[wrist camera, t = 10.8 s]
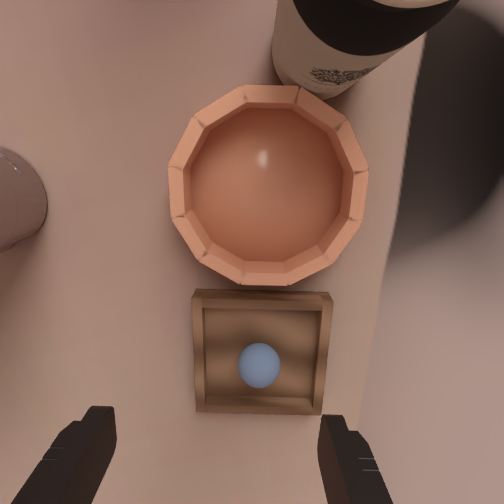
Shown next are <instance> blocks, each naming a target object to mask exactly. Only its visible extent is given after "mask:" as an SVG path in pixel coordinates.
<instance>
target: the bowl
mask: <svg viewBox="0 0 504 504" xmlns="http://www.w3.org/2000/svg"><path fill="white" fill-rule="evenodd" d="M194 115H195V117H196V118H194V117H193V116H192V118H191V120H190V122H189V124H188V126H187V128H186V130H185V132H184V134H183V136H182V138H181V140H180V142H179V144H178V146H177V148H176V150H175V152H174V154H173V156H172V158H171V160H170V162H169V165H171V166H168V177H169V195H170V212H171V217H174V218H173V219H172V221H173V223H174V224H175V226H176V227H177V229H178V230H179V232H180V234H181V235H182V237H183V238H184V240H185V242H186V243H187V245H188V246H189V248H190V249H191V251H192V253H193V254H194V256H195V257H196V259H197V260H198V259H200V260H199V262H201V263H202V264H204V265H206V266H208V267H209V268H211V269H213V270H215V271H217V272H218V273H220V274H222V275H224V276H225V277H227V278H229V279H231V280H233V281H234V282H236V283H238V284H240V282H241V285H271V286H287V282H288V284H289V285H291V284H293V283H295V282H297V281H299V280H301V279H303V278H305V277H307V276H310V275H312V274H314V273H316V272H318V271H320V270H322V269H324V268H326V267H328V266H330V265H331V263H330V262H332V263H334V261H335V260H336V259H337V257H338V256H339V255H340V253H341V252H342V250H343V249H344V248H345V246H346V245H347V244H348V242H349V241H350V239H351V238H352V237H353V235H354V234H355V233H356V231H357V230H358V228H359V227H360V226H361V224H362V223H360V222H363V216H364V208H365V200H366V192H367V184H368V177H369V171H367V169H369V167H368V165H367V163H366V160H365V158H364V156H363V153H362V151H361V149H360V146H359V144H358V142H357V139H356V137H355V135H354V132H353V130H352V128H351V125H350V123H349V121H348V120H345V119H346V117H345V116H343V115H342V114H341V113H339V112H338V111H336V110H335V109H333V108H332V107H330V106H329V105H327V104H326V103H325V102H323V101H322V100H320V99H319V98H317V97H316V96H314V95H313V94H311V93H310V92H309V91H307V90H306V89H304V88H303V87H301V88H300V89H299V86H283V85H243V88H242V86H239V87H238V88H236V89H234V90H233V91H231V92H230V93H228V94H226V95H225V96H223V97H222V98H220V99H218V100H217V101H215V102H213V103H212V104H210V105H209V106H207V107H205V108H204V109H202V110H201V111H199V112H197V113H196V114H194Z"/></svg>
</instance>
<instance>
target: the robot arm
mask: <svg viewBox="0 0 504 504" xmlns="http://www.w3.org/2000/svg"><path fill="white" fill-rule="evenodd" d="M46 211H47V199H46V194H45V190H44V187H43V185H42V182H41V180H40V178H39V177H38V175H37V173H36V172H35V171H34V169H33V168H32V167H31V166H30V165H29V164H28V163H27V162H26V161H25V160H24V159H22V158H21V157H20V156H19V155H17V154H15V153H13V152H11V151H10V150H7V149H4V148H1V147H0V253H1V252H3V251H6V250H8V249H11V247H12V245H13V244H14V243H15V242H17V241H19V240H22V239H25V238H27V237H29V236H31V235H32V234H34V233H35V232H36V231H37V230H38V229H39V228H40V226H41V225H42V223H43V221H44V219H45V215H46ZM116 441H117V435H116V425H115V414H114V408H113V407H112V406H91V407H90V408H89V409H88V411H87V413H86V414H85V416H84V417H83V419H82V420H81V421H73V422H72V423H70V424H69V425H68V426H67V427H66V428H64V429H63V430H62V431H61V432H60V433H59V434H58V436H57V437H56V439H55V440H54V442H53V443H52V445H51V446H50V449H48V450H47V452H46V453H45V455H44V456H43V458H42V461H40V462H39V463H38V465H37V466H36V468H35V469H34V471H33V472H32V474H31V475H30V477H29V478H28V479H27V481H26V482H25V484H24V485H23V487H22V488H21V490H20V491H19V493H18V494H17V495H16V497H15V498H14V500H13V501H12V503H11V504H91V503H92V501H93V499H94V497H95V494H96V492H97V490H98V488H99V486H100V483H101V481H102V479H103V477H104V475H105V473H106V470H107V468H108V466H109V464H110V462H111V459H112V457H113V455H114V451H115V448H116ZM317 453H318V462H319V467H320V471H321V476H322V480H323V485H324V489H325V493H326V498H327V502H328V504H393V502H392V500H391V498H390V495H389V493H388V490H387V488H386V486H385V483H384V481H383V478H382V476H381V473H380V472H379V468H378V466H377V464H376V461H375V460H374V456H373V454H372V452H371V449H370V447H369V445H368V443H367V442H366V440H365V439H364V438H363V437H362V436H361V434H359V432H358V431H349V430H348V428H347V425H346V422H345V419H344V417H343V416H342V415H326V414H323V415H322V418H321V424H320V431H319V438H318V446H317Z"/></svg>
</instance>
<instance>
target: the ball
mask: <svg viewBox="0 0 504 504" xmlns="http://www.w3.org/2000/svg"><path fill="white" fill-rule="evenodd" d="M238 371H239V374H240V377H241V378H242V380H243V381H244V382H245V383H246V384H248V385H249V386H251V387H254V388H265V387H267V386H269V385H271V384H272V383H273V382H274V381H275V380H276V379H277V377H278V375H279V372H280V359H279V356H278V354H277V353H276V351H275V350H274V349H273V348H272V347H271V346H269V345H267V344H264V343H254V344H251V345H249V346H247V347H246V348H245V349H244V350H243V351H242V353H241V354H240V356H239V359H238Z"/></svg>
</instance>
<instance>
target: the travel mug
mask: <svg viewBox="0 0 504 504" xmlns="http://www.w3.org/2000/svg"><path fill="white" fill-rule="evenodd" d="M458 2H459V0H278V4H277V11H276V18H275V25H274V33H273V40H272V59H273V64H274V67H275V70H276V72H277V75H278V77H279V78H280V80H281V81H282V83H283V84H284V85H285V86H299V89H300V88H301V87H303V88H304V89H306V90H307V91H309V92H310V93H311V94H313V95H314V96H316V97H317V98H319V99H320V100H325V99H329V98H332V97H335V96H337V95H339V94H340V93H342V92H343V91H345V90H346V89H347V88H349V87H350V86H352V85H353V84H354V83H356V82H357V81H358V80H360V79H361V78H363V77H364V76H365V75H367V74H368V73H369V72H371V71H372V70H374V69H375V68H376V67H378V66H379V65H380V64H382V63H383V62H385V61H386V60H387V59H389V58H390V57H391V56H393V55H394V54H396V53H397V52H398V51H400V50H401V49H402V48H404V47H405V46H407V45H408V44H409V43H411V42H412V41H413V40H415V39H416V38H418V37H419V36H420V35H422V34H423V33H424V32H426V31H427V30H429V29H430V28H431V27H432V26H434V25H435V24H436V23H438V22H439V21H440V20H441V19H442V18H443V17H445V16H446V15H447V14H448V13H449V12H450V11H451V9H453V7H454V6H455V5H456V4H457V3H458Z"/></svg>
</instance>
